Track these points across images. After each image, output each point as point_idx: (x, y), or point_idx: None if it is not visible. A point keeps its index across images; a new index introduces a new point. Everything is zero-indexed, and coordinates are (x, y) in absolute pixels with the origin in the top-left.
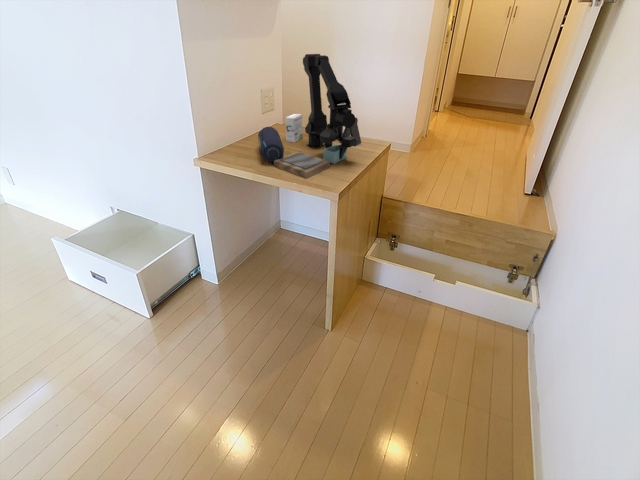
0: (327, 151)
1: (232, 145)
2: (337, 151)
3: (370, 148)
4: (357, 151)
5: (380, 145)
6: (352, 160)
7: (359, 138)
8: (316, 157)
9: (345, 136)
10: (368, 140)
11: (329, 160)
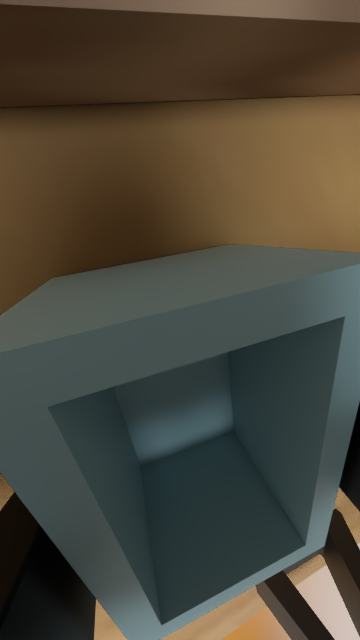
0: (248, 281)
1: None
2: (29, 502)
3: None
4: None
5: None
6: None
7: (280, 621)
8: (302, 3)
9: (350, 581)
10: (254, 611)
11: (134, 265)
